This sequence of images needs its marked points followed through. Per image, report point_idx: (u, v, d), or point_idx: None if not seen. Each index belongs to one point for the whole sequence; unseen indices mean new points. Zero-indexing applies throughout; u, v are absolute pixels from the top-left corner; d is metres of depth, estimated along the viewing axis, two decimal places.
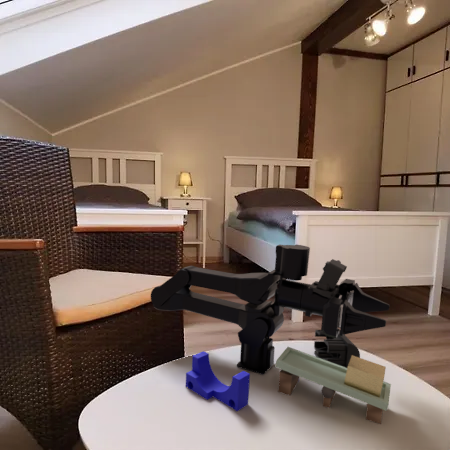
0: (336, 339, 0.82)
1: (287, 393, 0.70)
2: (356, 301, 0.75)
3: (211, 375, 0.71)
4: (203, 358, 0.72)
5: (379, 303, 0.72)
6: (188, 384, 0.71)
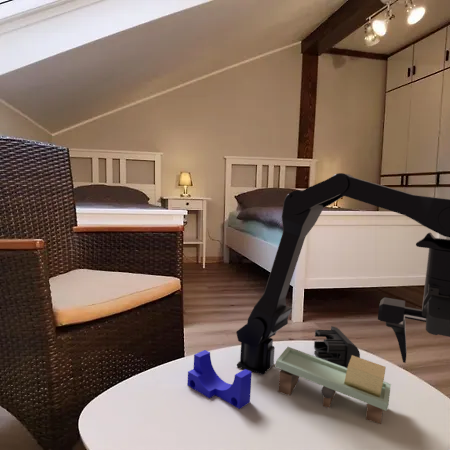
0: (336, 339, 0.82)
1: (287, 393, 0.70)
2: None
3: (213, 373, 0.72)
4: (205, 357, 0.72)
5: None
6: (190, 383, 0.71)
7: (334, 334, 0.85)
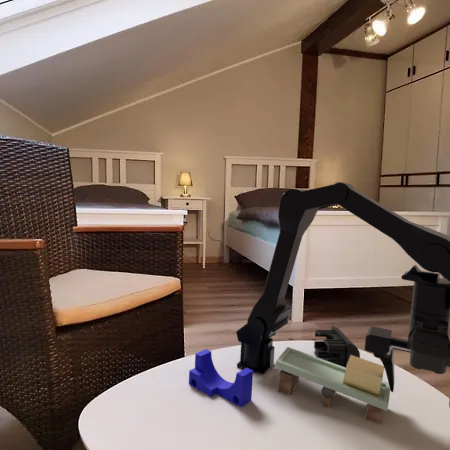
0: (336, 339, 0.82)
1: (287, 393, 0.70)
2: None
3: (214, 372, 0.72)
4: (206, 356, 0.73)
5: None
6: (191, 381, 0.72)
7: (334, 334, 0.85)
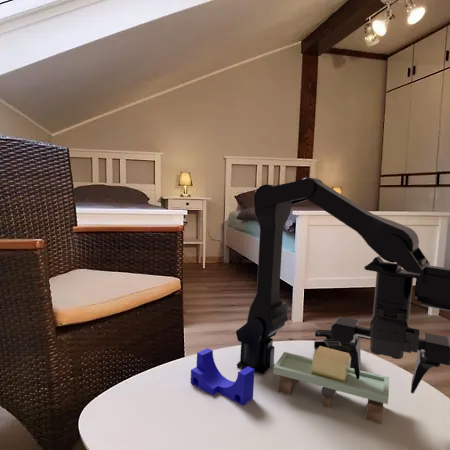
0: None
1: (287, 393, 0.70)
2: (418, 357, 0.62)
3: (215, 371, 0.73)
4: (207, 355, 0.73)
5: (412, 383, 0.62)
6: (193, 380, 0.72)
7: None
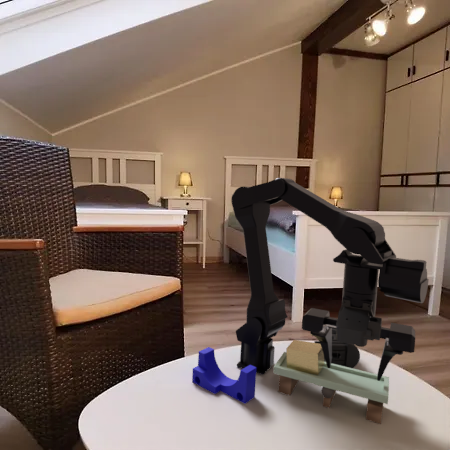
0: (336, 339, 0.82)
1: (287, 393, 0.70)
2: (384, 346, 0.64)
3: (217, 370, 0.73)
4: (209, 354, 0.74)
5: (378, 370, 0.64)
6: (195, 379, 0.72)
7: (334, 334, 0.85)
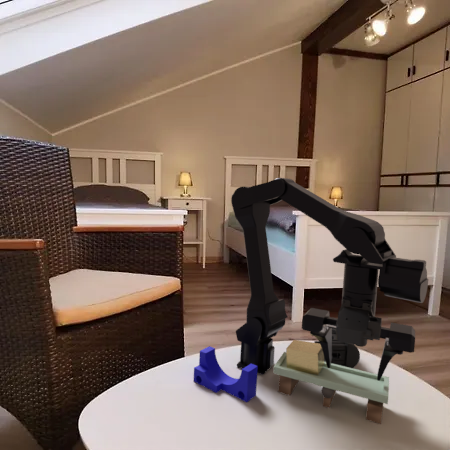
0: (336, 339, 0.82)
1: (287, 393, 0.70)
2: (384, 346, 0.64)
3: (218, 369, 0.74)
4: (210, 353, 0.74)
5: (378, 370, 0.64)
6: (196, 378, 0.73)
7: (334, 334, 0.85)
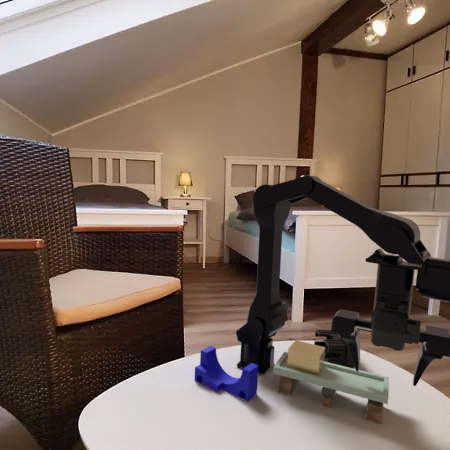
0: (336, 339, 0.82)
1: (287, 393, 0.70)
2: (420, 350, 0.62)
3: (219, 368, 0.74)
4: (211, 353, 0.74)
5: (414, 375, 0.62)
6: (197, 378, 0.73)
7: (334, 334, 0.85)
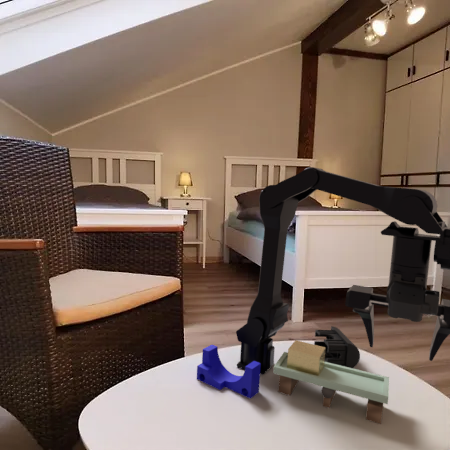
0: (336, 339, 0.82)
1: (287, 393, 0.70)
2: (437, 324, 0.60)
3: (221, 367, 0.75)
4: (213, 351, 0.75)
5: (430, 350, 0.60)
6: (199, 376, 0.74)
7: (334, 334, 0.85)
